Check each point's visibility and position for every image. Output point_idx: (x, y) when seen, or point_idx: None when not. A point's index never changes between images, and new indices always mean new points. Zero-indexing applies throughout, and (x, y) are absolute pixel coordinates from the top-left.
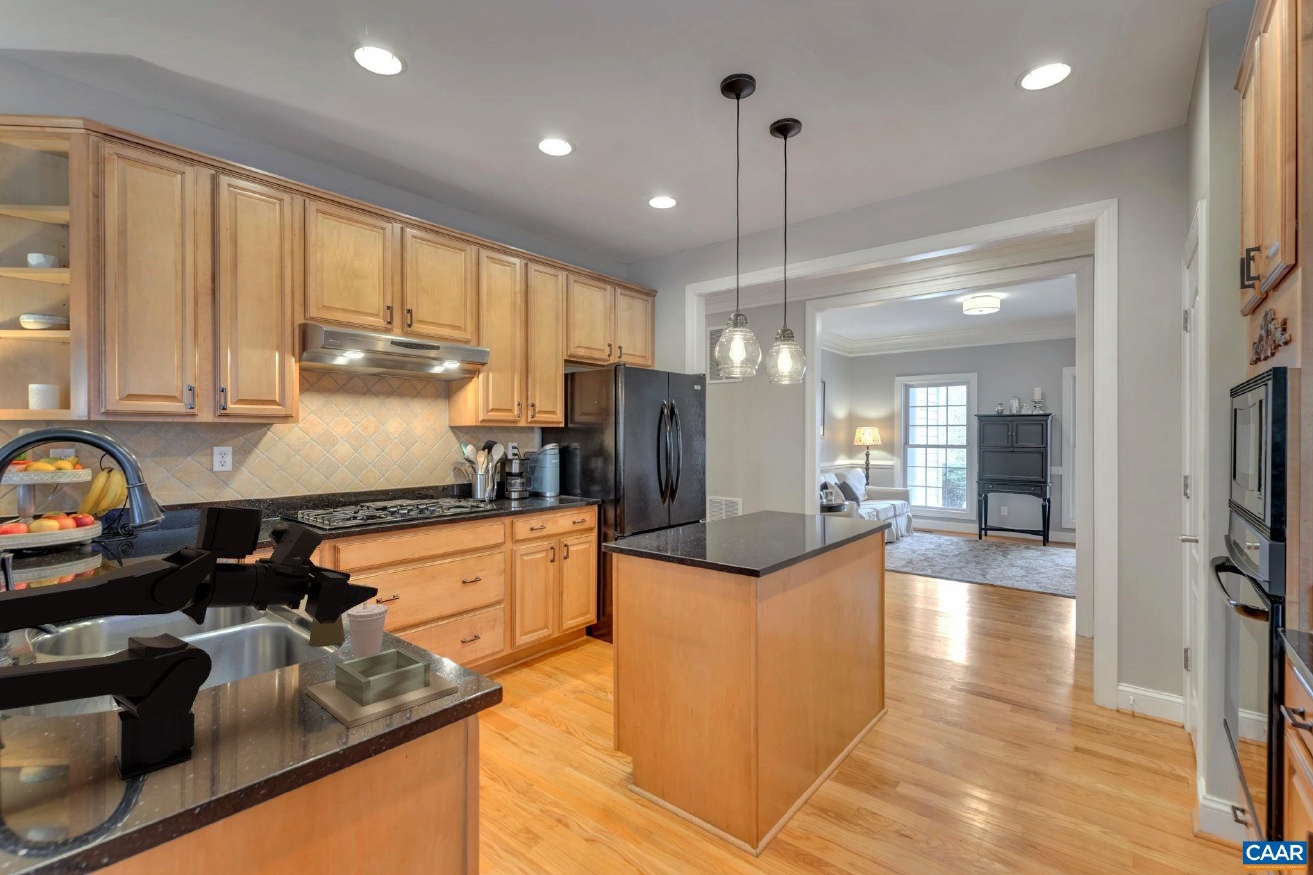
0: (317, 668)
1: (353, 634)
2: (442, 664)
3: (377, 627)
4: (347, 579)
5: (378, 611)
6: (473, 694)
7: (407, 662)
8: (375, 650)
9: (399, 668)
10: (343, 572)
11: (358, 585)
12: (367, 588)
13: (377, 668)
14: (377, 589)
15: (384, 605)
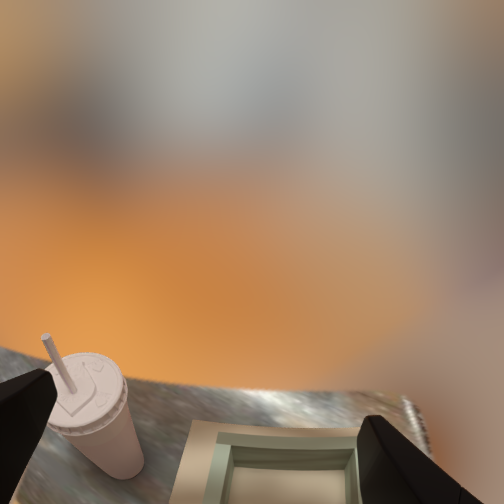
0: (49, 499)
1: (88, 450)
2: (246, 395)
3: (127, 414)
4: (52, 398)
5: (114, 385)
6: (409, 419)
7: (287, 456)
8: (137, 444)
9: (247, 463)
10: (26, 385)
11: (457, 495)
12: (422, 459)
13: (226, 496)
14: (380, 419)
15: (93, 354)
